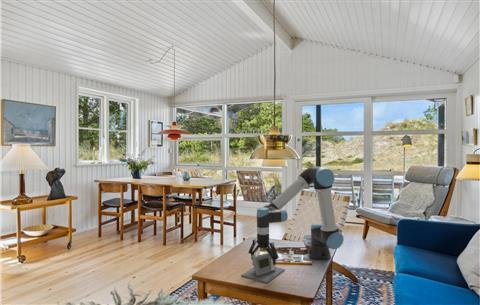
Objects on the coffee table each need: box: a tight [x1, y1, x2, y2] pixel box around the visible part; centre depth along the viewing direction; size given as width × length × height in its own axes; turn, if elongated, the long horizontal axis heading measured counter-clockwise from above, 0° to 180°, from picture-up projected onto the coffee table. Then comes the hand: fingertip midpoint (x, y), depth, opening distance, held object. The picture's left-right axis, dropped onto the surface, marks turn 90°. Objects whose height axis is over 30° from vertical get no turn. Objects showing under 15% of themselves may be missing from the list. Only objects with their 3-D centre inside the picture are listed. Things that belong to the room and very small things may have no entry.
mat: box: [240, 266, 286, 284], centre depth 200 cm, size 22×18×1 cm
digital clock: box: [251, 252, 277, 276], centre depth 200 cm, size 16×9×11 cm, turn 117°
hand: (263, 267), depth 200 cm, fingers open, 13 cm apart
